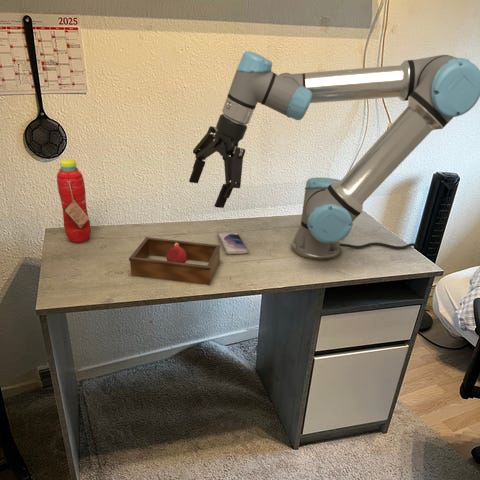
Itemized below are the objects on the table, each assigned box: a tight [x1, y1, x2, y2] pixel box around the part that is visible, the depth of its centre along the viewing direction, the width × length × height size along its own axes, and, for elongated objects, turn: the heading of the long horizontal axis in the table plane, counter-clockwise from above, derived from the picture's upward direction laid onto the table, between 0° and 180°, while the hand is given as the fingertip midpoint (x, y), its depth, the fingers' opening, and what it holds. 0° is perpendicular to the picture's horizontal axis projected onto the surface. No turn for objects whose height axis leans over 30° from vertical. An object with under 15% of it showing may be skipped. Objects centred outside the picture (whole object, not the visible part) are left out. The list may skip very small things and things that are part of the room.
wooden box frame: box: [128, 236, 222, 286], centre depth 136 cm, size 23×15×6 cm, turn 81°
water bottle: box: [56, 158, 92, 244], centre depth 143 cm, size 12×8×25 cm, turn 14°
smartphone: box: [217, 232, 249, 255], centre depth 153 cm, size 7×1×15 cm
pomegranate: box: [166, 243, 188, 263], centre depth 136 cm, size 6×6×8 cm
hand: (205, 194), depth 131 cm, fingers open, 13 cm apart
